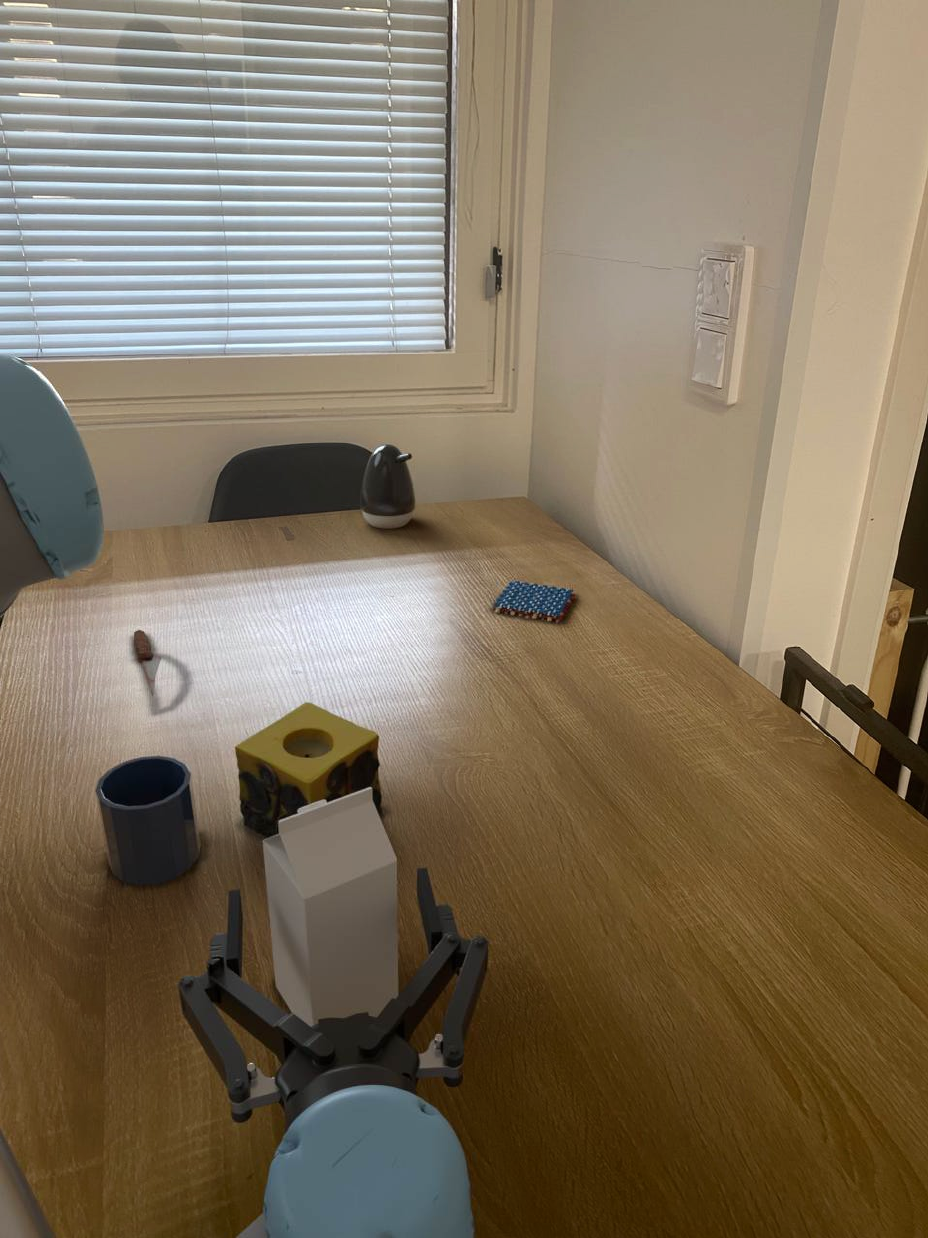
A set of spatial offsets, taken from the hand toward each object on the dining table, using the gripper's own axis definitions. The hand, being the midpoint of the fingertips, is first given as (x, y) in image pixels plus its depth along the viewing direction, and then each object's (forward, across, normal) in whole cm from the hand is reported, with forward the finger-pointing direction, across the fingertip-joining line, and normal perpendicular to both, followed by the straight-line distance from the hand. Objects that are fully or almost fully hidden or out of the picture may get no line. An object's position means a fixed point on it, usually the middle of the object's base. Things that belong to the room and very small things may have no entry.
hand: (330, 892), depth 67 cm
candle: (+22, -1, -11) cm, 24 cm away
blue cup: (+18, -15, -10) cm, 26 cm away
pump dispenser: (+106, +17, -11) cm, 108 cm away
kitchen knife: (+55, -18, -11) cm, 59 cm away
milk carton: (-1, 0, -10) cm, 11 cm away
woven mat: (+67, +35, -11) cm, 76 cm away
